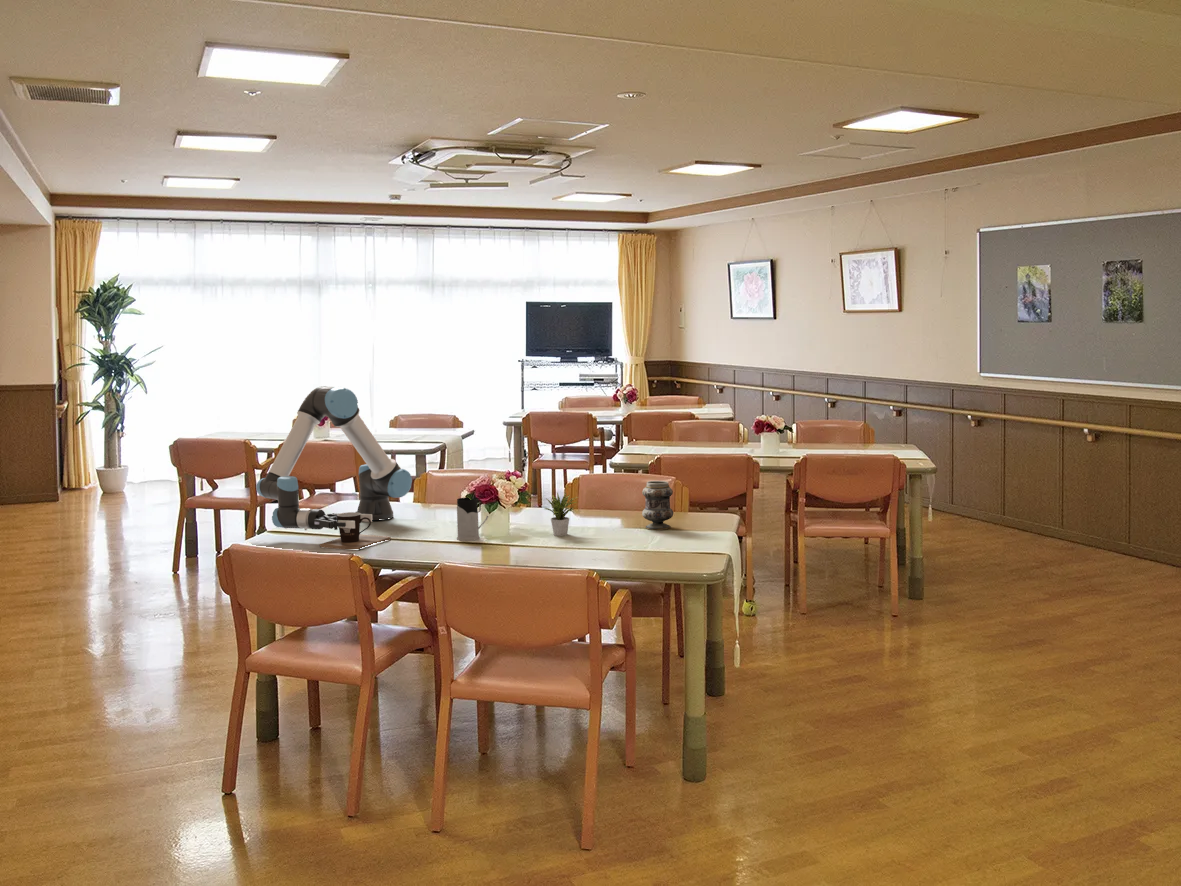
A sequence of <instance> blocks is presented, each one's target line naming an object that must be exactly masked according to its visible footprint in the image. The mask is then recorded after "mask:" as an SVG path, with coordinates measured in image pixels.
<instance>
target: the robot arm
mask: <svg viewBox="0 0 1181 886" xmlns="http://www.w3.org/2000/svg"><path fill="white" fill-rule="evenodd" d="M358 403H359V402H358V398H357V396H356V394H355V393H354V392H353V391H352V390H351V389H349V388H346V387H342V386H326V385H325V386H324V385H323V386H319V387H316V388H314V389H313V390H312V391H310V393H309V394H307V396H306V397H305V398H304V400H303V401H302V403H301V405H300V406H299V408H298V410H297V412H296V413H297V417H296V419H295V422H294V423H293V425H292V427H291V429H290V430H289V433H288V435H287V436H286V439H285V440H284V443H283V444H282V446H281V448H280V449H279V451H278V454H277V455H276V457H275V459H274V461H273V463H272V465H271V466H270V469H269V471H268V472H267V474H266V476H265V477H263V478H261V479H259V480H258V481H257V483H256V486H255V488H256V489H255V490H256V492H257V494H258V495H259V496H260V497H263V498H265V499H271V500H277V504H278V505H277V507H276V508H275V509H274V510H273V512H272V516H271V520H272V524H273V525H274V527H276V528H283V529H300V530H304V531H307V530H322V529H323V528H325V529H330V530H334V531H338V530H339V528H355V521H348V520H338V519H337V514H340V513H341V512H340V513H337V512H336V513H335V512H334V513H327V514H326V513H325V512H326V511H324V510H323V509H318V508H317V509H316V508H314V509H313V508H300V503H299V487H300V486H299V483H298V478H297V477H296V476H292V475H291V474H292V471H293V469H294V467H295V465H296V463H297V461H298V459H299V458H300V456H301V454H302V452H303V450H304V448H305V446H306V444H307V442H308V441H309V439H310V437H311V435H312V433H313V431H314V429H315V427H316V426H318V425H319V424H321V422H322V420H323V419H324V418H325V417H327V418H328V419H329V420H330V422H331V423H332V425H333V426H334V427H336V428H340V429H341V430H342V432H343V433H344V435H345V436H346V438H347V439H348V440H349V442H350V443H351V444H352V446H353V447H354V448H355V450H356V452H357V453H358V454H359V456H360V457H361V458H362V460H363V461H364V463H365V464H361V465H360V466H359V467H358V483H359V484H358V487H359V504H358V507H357V511H356V512H357V513H361V518H360V519H362V518H364V517H366V518H369V519H370V521H371V523H372V522H373V521H372V520H379V519H388V518H392V517H393V518H394V510H393V508H392V506H391V502H390V500H389V499H390V498H394V499H396V498H403V497H405V496H406V495H407V494H408V493H409V492H410V490H411V487H412V483H413V478H412V474H411V473H410V471H408V470H406V469H404V468H401V466H400V465H399V464H398V462H397V461H396V460H395V459H394V458H389V456H388V455H387V453H386V452H385V451H384V449H383V448H382V445H380V443H379V442H378V441H377V439H376V438H375V436H374V435H373V433H372V431H370V429H369V428H368V427H367V424H366V423H365V422H364V421H363V419H362V417H361V416H360V408H359V405H358ZM393 518H392V519H393ZM388 520H389V519H388ZM361 522H365V523H366V522H367V523H369V520H367V519H363V520H362V521H361Z"/></svg>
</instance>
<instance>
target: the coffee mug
mask: <svg viewBox="0 0 1181 886" xmlns="http://www.w3.org/2000/svg"><path fill="white" fill-rule="evenodd" d="M360 518H361V513H357V511H355V512H354V511H353V512H352V511H351V512H342V513H341V512H340V514H337V519H338V520H348V521H355V528H338V530H339V531H338V532H339V536H340V537H339V538H341V542H343V543H353V542H358V541H359V535H360V534H362V533H363V532H364V531H365V532H366V530H368V528H369V527H370V526H371V525H372V524H371V523H372V522H371V521H370V519H369V518H366V517H364V518H362V519H360ZM363 519H367V520H369V522H368V525H367V527H366V528H364V529H362V530H361V524H362V522H363V521H362V520H363ZM360 530H361V531H360Z"/></svg>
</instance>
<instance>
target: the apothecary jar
mask: <svg viewBox="0 0 1181 886" xmlns="http://www.w3.org/2000/svg"><path fill="white" fill-rule="evenodd" d="M673 493H674V492H673V489H672V488H671V487H670V484H669V481H666V480H648V481H646V485H645V487H643V489H642V492H641V494H642V496H644V497H645V503H644V505H645V508H644V509H643V510H642V511H641V515H642V517H643V518H644V519H646V520H647V521H650V522H652V523H649V524H647V525H645V529H647V530H650V529H652V530H651V531H663V530H668V529H671V527H672V526H671V525H670V524H667V523H664V522H665V521H668V520H670V519H672V517H673V516H674V511H673V509H672V508H671V502H670V501H671V496H673Z"/></svg>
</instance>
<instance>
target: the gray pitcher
mask: <svg viewBox="0 0 1181 886" xmlns="http://www.w3.org/2000/svg"><path fill="white" fill-rule="evenodd" d="M481 511H482V504H481V505H480V504H479V508H478V498H477V499H476V500H470V499H469V498H468V497H459V498H457V500H456V519H457V520H456V521H457V522H456V524H457V526H456V527H457V537H456V540H457V541H461V542H462V541H463V542H470V541H471V542H472V541H477V540H480V539H481V537H480V534H479V530H480V529H481V528H482V526H483V525H484V524H485V523H486V521H487V520H488V518H489V516H487V515H486V517H485V519H484V520H483V521H482V522H481V524H480V525H479V513H480V512H481Z"/></svg>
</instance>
